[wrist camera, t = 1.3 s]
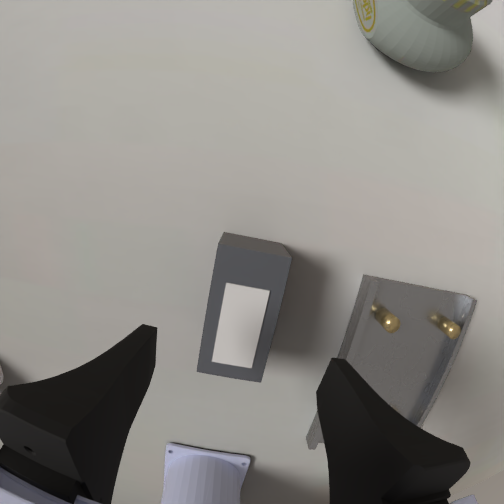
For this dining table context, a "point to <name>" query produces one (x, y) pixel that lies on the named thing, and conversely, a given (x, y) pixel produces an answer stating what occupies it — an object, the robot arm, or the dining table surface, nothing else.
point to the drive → (243, 306)
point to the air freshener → (420, 30)
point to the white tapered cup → (1, 375)
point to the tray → (403, 344)
